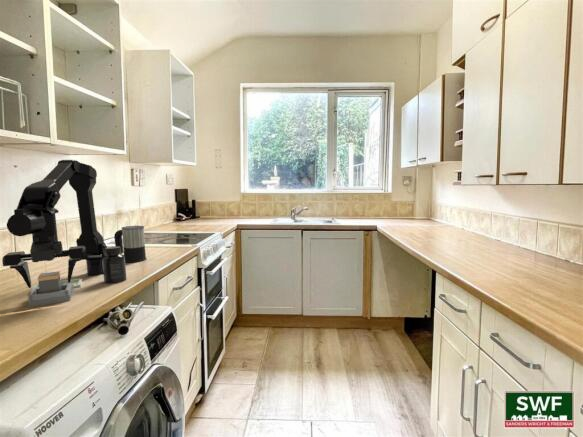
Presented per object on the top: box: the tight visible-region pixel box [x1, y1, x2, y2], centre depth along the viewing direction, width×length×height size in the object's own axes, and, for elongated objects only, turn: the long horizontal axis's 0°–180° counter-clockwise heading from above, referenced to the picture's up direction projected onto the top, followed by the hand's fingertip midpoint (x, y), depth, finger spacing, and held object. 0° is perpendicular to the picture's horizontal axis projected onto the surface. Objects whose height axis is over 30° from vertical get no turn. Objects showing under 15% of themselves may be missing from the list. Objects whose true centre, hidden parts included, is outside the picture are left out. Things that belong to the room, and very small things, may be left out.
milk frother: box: [113, 225, 147, 263], centre depth 145 cm, size 14×16×15 cm
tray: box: [29, 277, 83, 294], centre depth 110 cm, size 9×13×1 cm
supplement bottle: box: [102, 246, 127, 285], centre depth 115 cm, size 7×7×12 cm
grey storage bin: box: [27, 279, 75, 308], centre depth 100 cm, size 12×10×4 cm
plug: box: [37, 270, 62, 294], centre depth 97 cm, size 5×5×6 cm
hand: (50, 285), depth 97 cm, fingers open, 9 cm apart
